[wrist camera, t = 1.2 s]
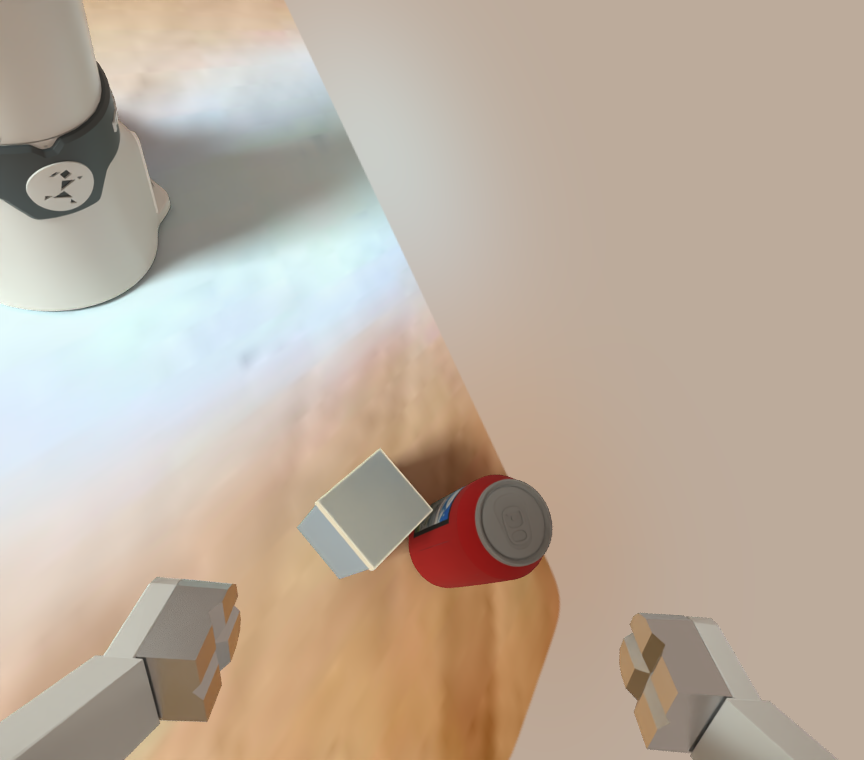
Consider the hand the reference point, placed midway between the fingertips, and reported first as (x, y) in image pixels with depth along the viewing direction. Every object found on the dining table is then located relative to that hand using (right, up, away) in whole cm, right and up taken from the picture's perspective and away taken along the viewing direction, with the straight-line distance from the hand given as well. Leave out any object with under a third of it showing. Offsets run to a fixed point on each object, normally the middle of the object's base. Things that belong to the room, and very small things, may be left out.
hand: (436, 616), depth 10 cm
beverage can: (+1, -9, +31) cm, 32 cm away
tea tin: (-7, -7, +28) cm, 30 cm away
